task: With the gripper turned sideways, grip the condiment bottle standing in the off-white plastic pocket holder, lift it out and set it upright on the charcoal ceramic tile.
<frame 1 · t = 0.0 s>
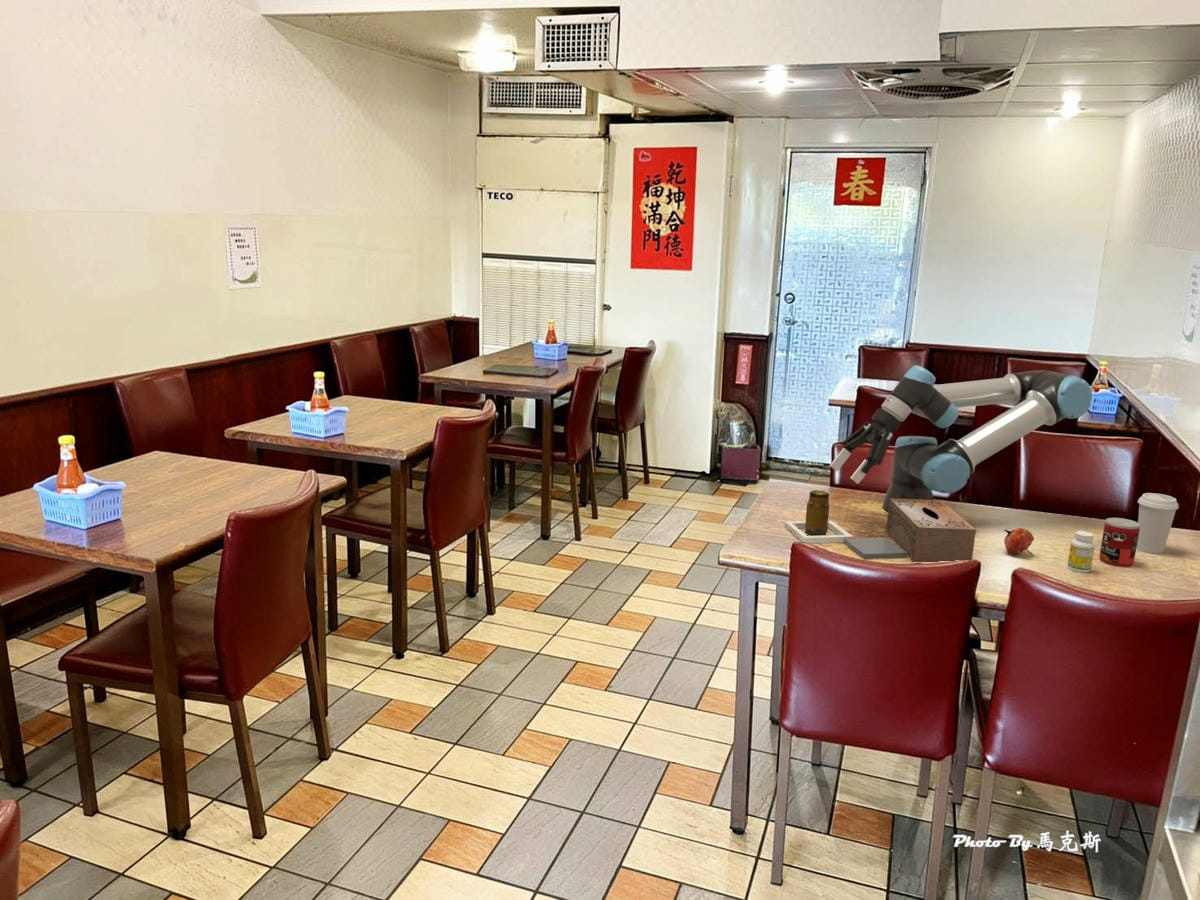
hand: (843, 474, 256), 15 cm above the table, tool tilted 35°, fingers open, 13 cm apart
tissue box cover: (926, 549, 243), on the table
supplement bottle: (1078, 569, 231), on the table
pomegranate: (1017, 554, 241), on the table
pocket holder: (817, 534, 251), on the table
canned food: (1115, 562, 237), on the table
charcoal tile: (874, 550, 240), on the table
condiment: (817, 535, 251), resting in pocket holder
coffee cup: (1149, 550, 248), on the table
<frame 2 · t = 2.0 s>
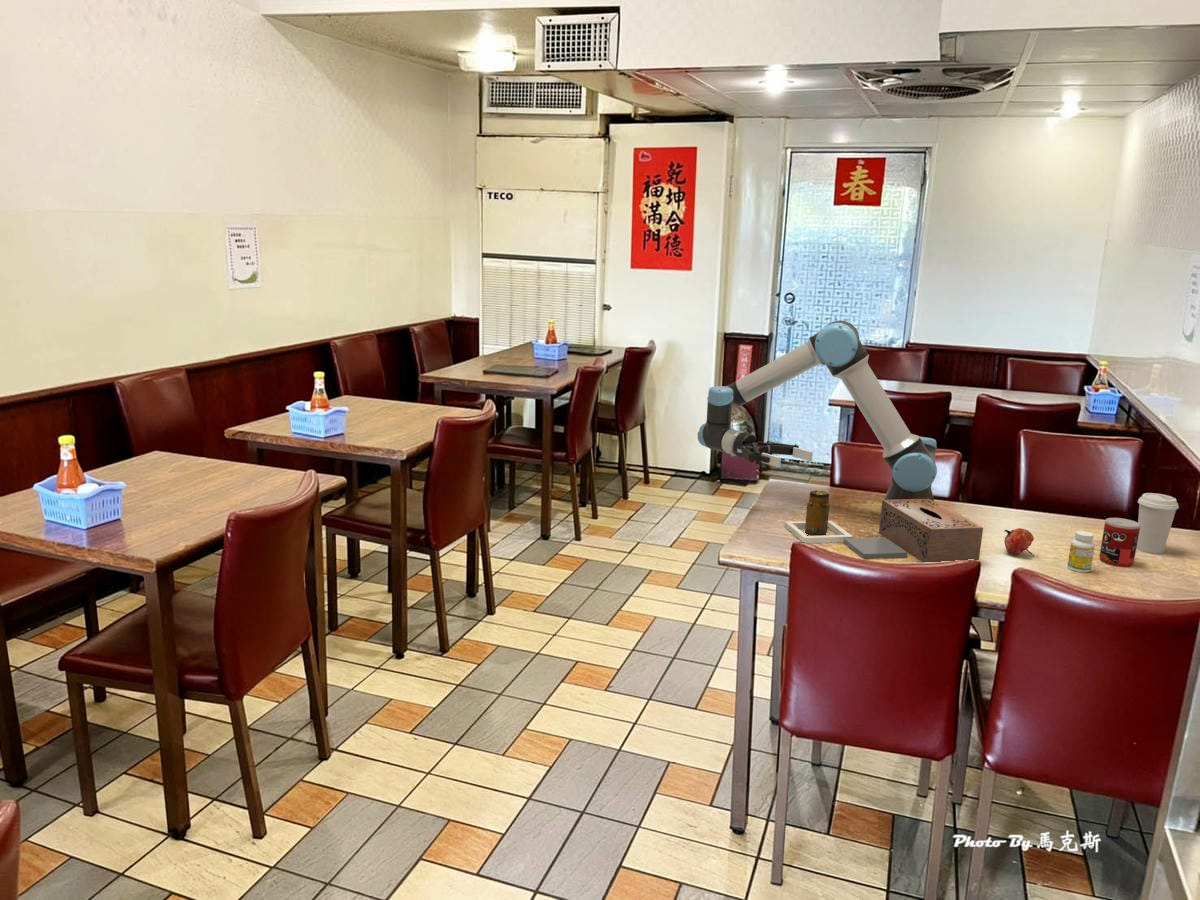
hand: (796, 459, 254), 19 cm above the table, tool horizontal, fingers open, 13 cm apart
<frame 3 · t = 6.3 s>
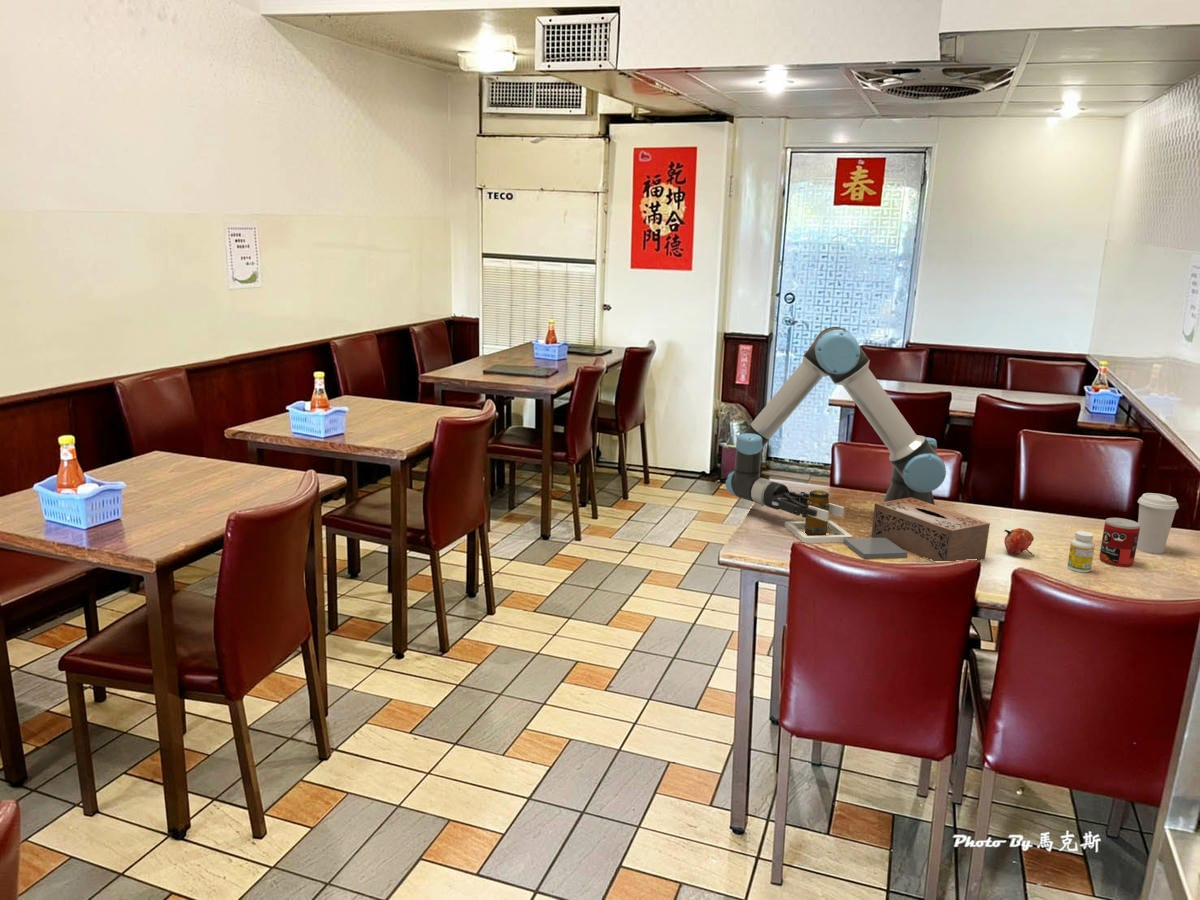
hand: (835, 514, 246), 7 cm above the table, tool horizontal, fingers closed on condiment, 6 cm apart
condiment: (817, 535, 251), resting in pocket holder, touching gripper
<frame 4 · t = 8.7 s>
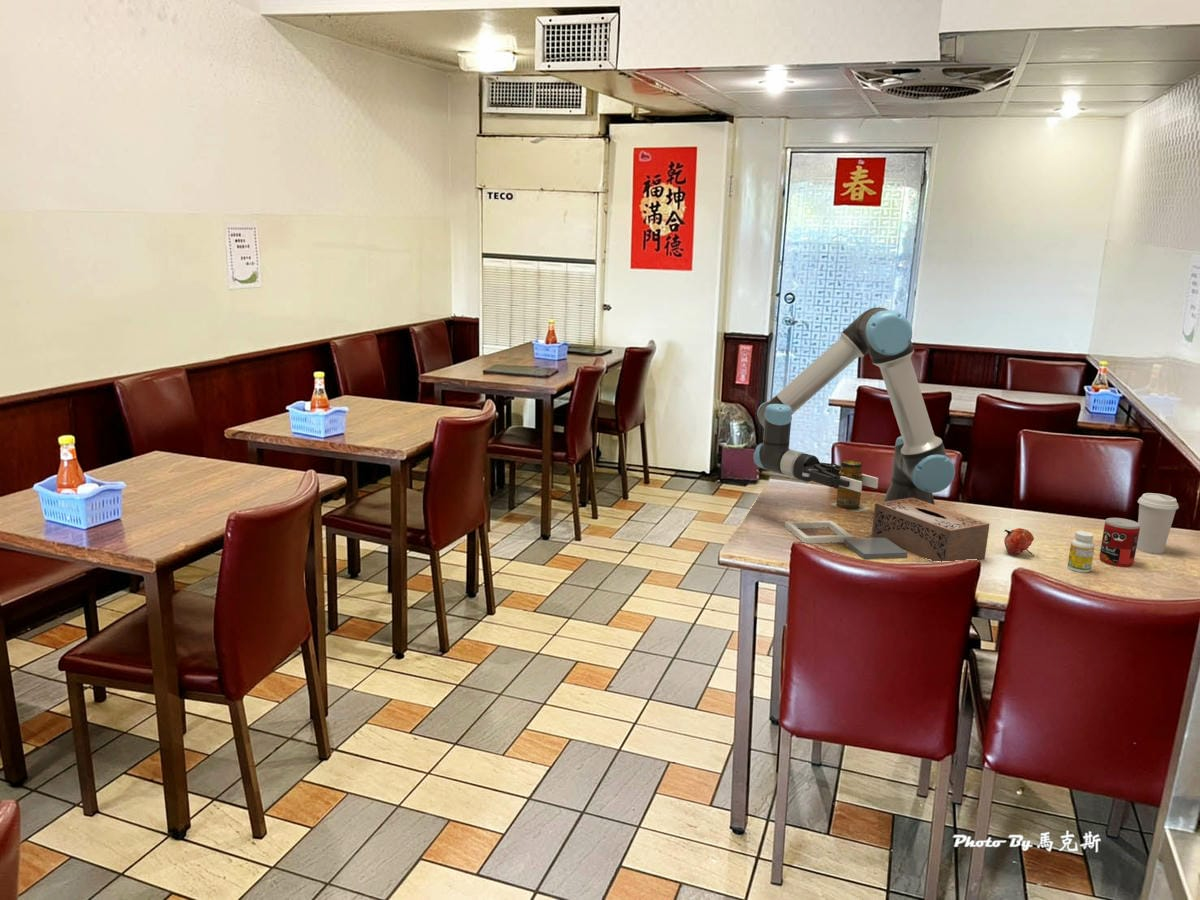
hand: (868, 485, 236), 18 cm above the table, tool horizontal, fingers closed on condiment, 6 cm apart
condiment: (849, 507, 241), point 10 cm above the table, touching gripper
when the fingers open (10 cm above the table, at t = 11.4 s): condiment drops 1 cm, resting on charcoal tile.
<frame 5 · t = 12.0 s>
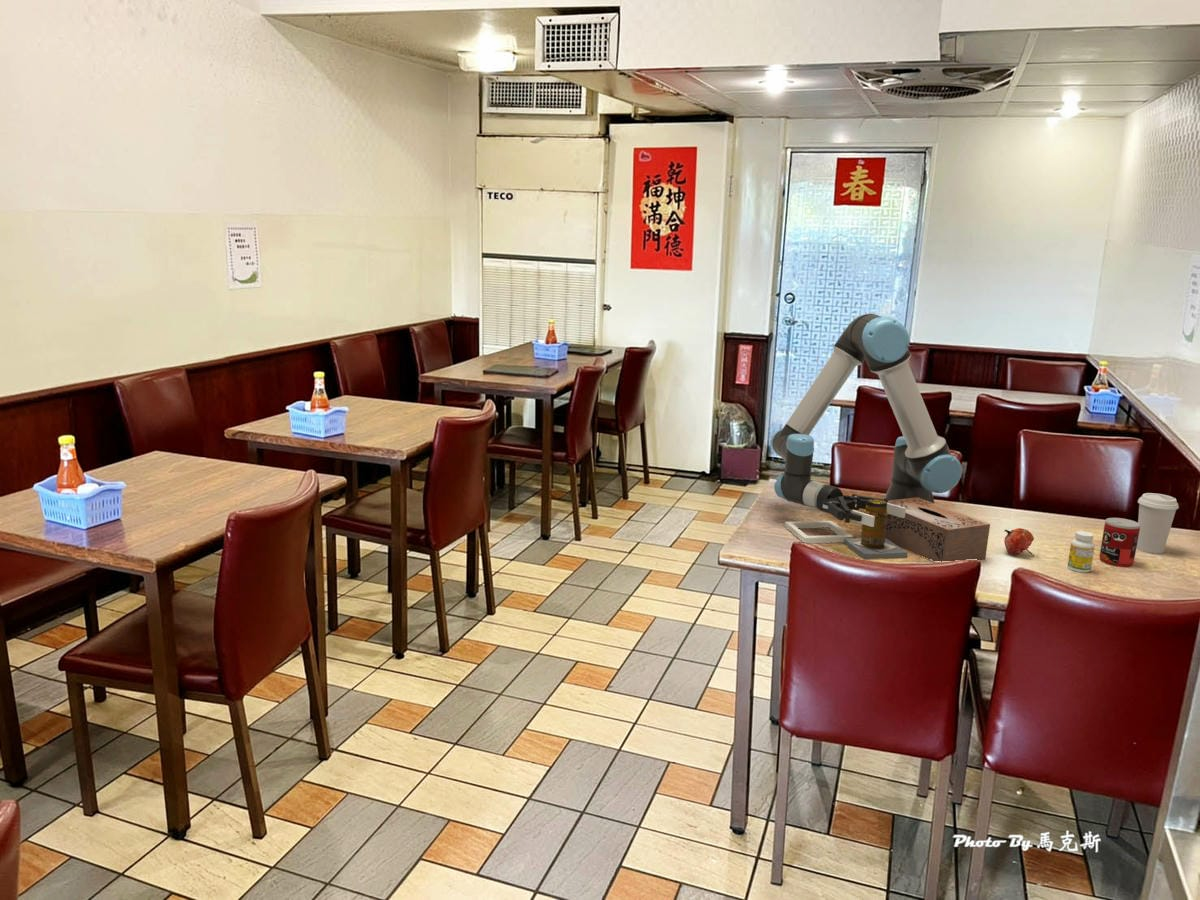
hand: (889, 517, 235), 10 cm above the table, tool horizontal, fingers open, 13 cm apart
condiment: (874, 546, 239), point 1 cm above the table, touching charcoal tile
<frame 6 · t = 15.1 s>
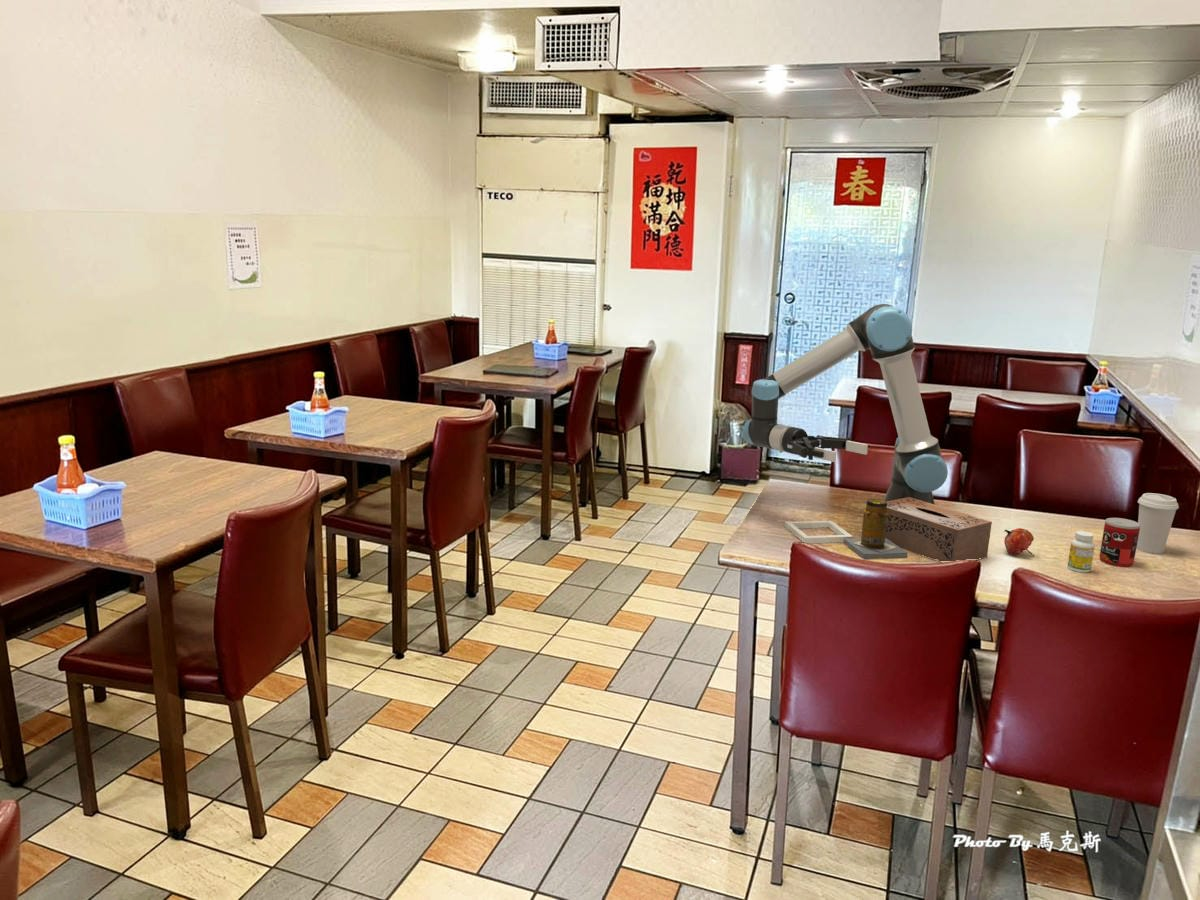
hand: (851, 453, 241), 24 cm above the table, tool horizontal, fingers open, 13 cm apart
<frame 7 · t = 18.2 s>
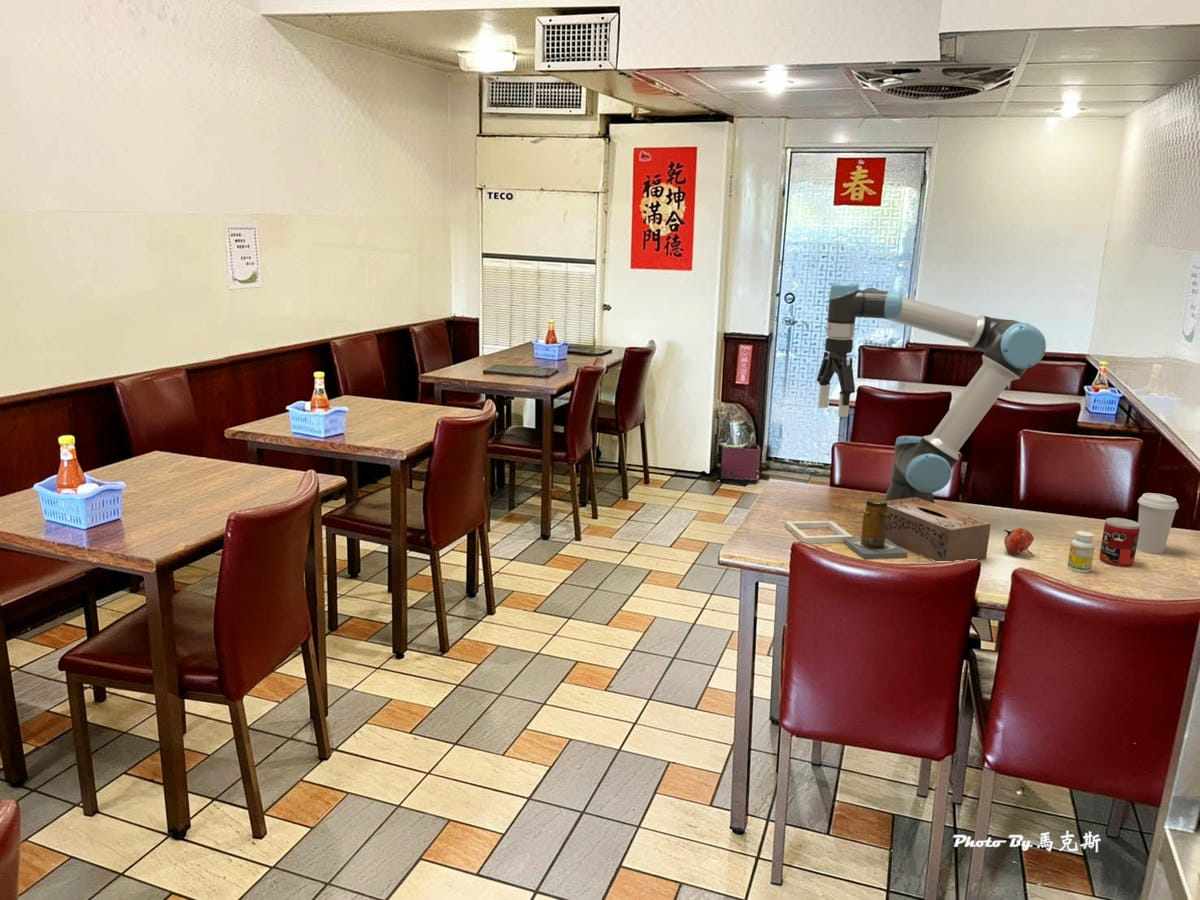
hand: (832, 412, 260), 32 cm above the table, tool pointing down, fingers open, 13 cm apart
at the end: condiment inside the target area on the charcoal tile (0.2 cm from its centre), point 1.2 cm above the charcoal tile's base; condiment tilted 0°; the gripper is holding nothing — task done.
